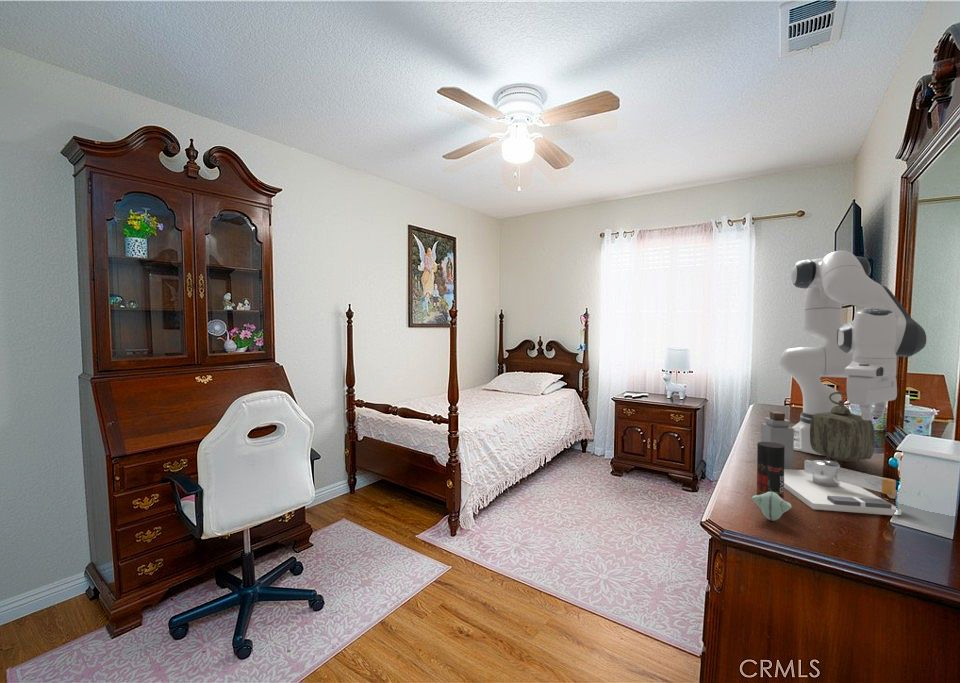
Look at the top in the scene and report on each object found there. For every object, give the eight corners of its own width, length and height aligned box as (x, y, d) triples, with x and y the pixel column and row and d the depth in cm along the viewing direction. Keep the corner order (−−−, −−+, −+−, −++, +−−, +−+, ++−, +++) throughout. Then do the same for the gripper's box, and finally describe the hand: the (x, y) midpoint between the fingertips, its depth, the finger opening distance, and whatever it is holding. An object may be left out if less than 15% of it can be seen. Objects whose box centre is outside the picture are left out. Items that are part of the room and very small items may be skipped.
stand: (763, 472, 133) (763, 464, 133) (832, 476, 129) (832, 468, 129) (812, 509, 106) (812, 499, 106) (902, 516, 102) (902, 505, 102)
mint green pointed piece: (750, 517, 101) (750, 490, 101) (753, 512, 104) (754, 485, 104) (790, 528, 96) (791, 499, 96) (793, 522, 99) (793, 494, 99)
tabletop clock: (874, 473, 132) (876, 394, 131) (854, 476, 129) (855, 396, 129) (825, 460, 146) (826, 388, 145) (806, 462, 143) (807, 389, 142)
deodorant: (759, 494, 116) (760, 440, 115) (785, 500, 112) (786, 444, 111) (754, 500, 112) (755, 444, 111) (781, 506, 107) (782, 449, 107)
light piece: (800, 479, 122) (800, 457, 122) (810, 475, 125) (811, 454, 125) (888, 503, 105) (889, 478, 105) (898, 498, 108) (899, 474, 108)
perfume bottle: (793, 469, 136) (794, 414, 135) (770, 468, 137) (770, 414, 136) (782, 463, 142) (783, 410, 142) (760, 462, 144) (761, 410, 143)
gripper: (875, 365, 122) (874, 413, 122) (841, 369, 112) (840, 420, 113) (905, 367, 116) (904, 417, 116) (871, 371, 107) (870, 424, 107)
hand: (872, 418), depth 114 cm, fingers open, 5 cm apart
